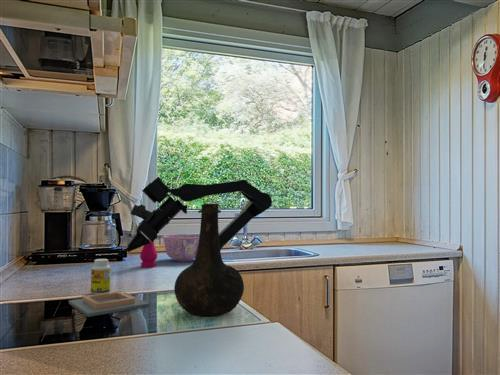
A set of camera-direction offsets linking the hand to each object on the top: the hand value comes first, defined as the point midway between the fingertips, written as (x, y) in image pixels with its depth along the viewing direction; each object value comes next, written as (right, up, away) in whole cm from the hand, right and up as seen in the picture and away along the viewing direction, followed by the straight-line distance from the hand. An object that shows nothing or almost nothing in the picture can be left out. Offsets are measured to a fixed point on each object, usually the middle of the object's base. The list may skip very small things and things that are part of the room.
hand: (127, 249), depth 124 cm
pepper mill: (-6, -15, +47) cm, 50 cm away
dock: (0, -13, -16) cm, 20 cm away
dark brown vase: (+28, -13, -22) cm, 37 cm away
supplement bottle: (-8, -13, -2) cm, 15 cm away
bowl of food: (+6, -16, +66) cm, 68 cm away
